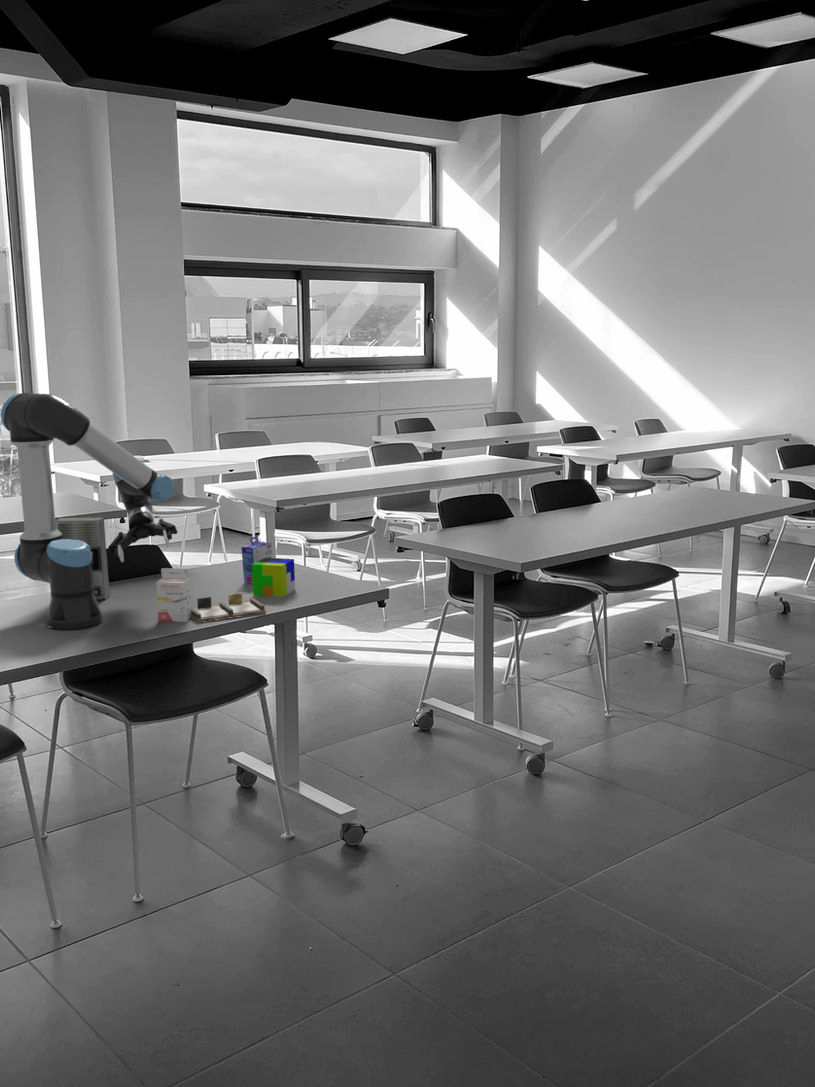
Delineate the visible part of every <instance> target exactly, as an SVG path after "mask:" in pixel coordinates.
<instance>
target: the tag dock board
mask: <svg viewBox="0 0 815 1087" xmlns="http://www.w3.org/2000/svg"><path fill="white" fill-rule="evenodd" d="M227 595H228V602H219V603H216V604H212V597H211V596H206V597H205V596H204V597H198V598H196V601H197V602H196V603H197V604H196V605H197V606H194V607H193V606H191V618H192V617H193V618H192V619H193V620H195V621H196V620H197V621H198V622H203V621H209V620H215V619H221V618H227V617H228V618H229V617H237V616H245V617H248V616H247V615H253V616H259V615H258V614H260V615H266V614H267V611H266V610H267V609H266V608H265V604H263V603H262V602H260V601H259V600H257V599H256V598H254V597H251V598H249V599H246V600H243V593H242V592H237V593H231V594H230V593H229V594H227ZM197 621H196V622H197ZM198 622H197V623H198ZM203 623H204V622H203Z"/></svg>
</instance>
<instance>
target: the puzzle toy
mask: <svg viewBox="0 0 815 1087" xmlns="http://www.w3.org/2000/svg"><path fill="white" fill-rule="evenodd" d="M252 575H253V584H252V594H253V596H254V595H259V596H258V597H272V596H278V597H277V598H284V597H285V595H286V594H287V595H289V594H290V593H292V592H293V591H292V590H294V589H295V590H296V581H295V580H296V579H295V578H296V577H295V558H279V557H275V558H274V557H273V558H263V559H261V560H259V561H258V562H256V563H254V564H252ZM295 590H294V591H295ZM291 591H292V592H291ZM289 592H290V593H289ZM288 593H289V594H288ZM287 595H286V596H287ZM279 596H280V597H279Z"/></svg>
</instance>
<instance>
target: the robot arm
mask: <svg viewBox="0 0 815 1087" xmlns="http://www.w3.org/2000/svg"><path fill="white" fill-rule="evenodd" d="M0 410H1V411H0V420H1V424H2V426H3V427H4V428H5V430H7V431H8V432H9V438H10V443H11V444H12V445H13V446H15V448H16V449H17V460H18V463H17V464H18V470H19V482H20V495H21V503H22V515H23V524H24V525H23V527H24V531H23V532H22V533H21V534H20V535H19V544H18V545H17V546H18V547H17V548H16V549H15V551H14V555H13V557H14V563H15V567H16V569H17V570H18V572H19V573H20V574H22V575H23V576H24V577H26V578H29V579H30V580H33V581H38V582H43V583H48V584H50V586H49V587H50V598H51V599H50V601H49V602H50V603H49V606H48V611H47V615H46V626H47V625H48V626H50V627H52V628H56V629H55V630H59V629H72V630H77V629H76V628H81V629H85V628H84V627H87V628H89V627H88V626H91V627H94V626H97V625H100V624H101V623H102V622H103V612H102V610H101V608H100V605H99V603H98V601H97V600H98V599H96V598H95V596H94V588H93V573H92V555H91V551H90V547H89V545H88V544H87V543H85V542H83V541H80V540H71V539H62V533H61V532H60V531H59V530H57V529H56V523H55V521H56V514H55V504H54V491H53V490H54V489H53V479H52V470H51V469H52V468H51V459H50V445H51V444H52V443H53V442H54V441H55V439H57V440H59V441H61V442H62V443H64V444H65V445H66V446H69V447H72V446H75V447H76V448H77V449H79V450H80V451H82V452H83V453H84V454H85V455H87V456H89V457H90V458H91V459H93V460H94V461H96V462H97V463H99V464H100V465H102V466H103V467H104V468H106V469H107V470H109V471H110V472H112V477H113V479H114V484H115V486H116V488H117V490H118V493H119V495H120V497H121V499H122V502H123V506H124V508H125V510H126V513H127V518H128V520H127V521H128V530H127V532H125V533H124V532H123V531H120V532H118V535H117V536H116V537H115V538H114V539H113V540H112V542H111V543H110V544H109V545H108V546H107V548H108V552H109V553H110V555H111V556H113V555H115V557H116V558H117V557H118V558H119V560H120V563H124V562H125V557H124V550H125V549H127V548H128V547H129V546H130V545H132V544H135V543H136V542H138V541H139V540H142V539H144V540H145V539H147V538H149V537H156V536H157V537H158V536H159V537H163V540H164V542H165V544H166V547H167V548H170V547H171V546H170V540H172V539H173V535H177V534H178V530H177V527H176V525H175V524H173V523H170V522H167V521H165V520H164V519H163V518H159V520H158V521H157V522H156V523H155V518H154V514H153V512H154V511H153V504H152V503H151V500H155V501H160V500H161V501H166V500H168V499H170V498H171V497H172V495H173V493H174V491H175V484H174V480H173V479H172V478H171V477H170V476H168V475H165V474H159V473H158V472H157V471H155V470H153V469H152V468H151V467H150V466H148V465H146V463H144V462H142V461H141V460H140V459H138V458H137V457H136V456H134V455H133V454H131V453H130V452H129V451H128V450H126V449H125V448H124V447H122V446H121V445H119V444H118V443H117V442H116V441H115V440H113V439H112V438H110V437H109V436H107V435H106V434H105V433H103V432H102V431H101V430H99V429H98V428H97V427H95V426H94V425H93V424H91V420H90V418H89V417H88V416H87V415H86V414H84V413H82V412H81V411H80V410H78V409H77V408H76V407H74V405H72V404H70V403H69V402H68V401H66V400H64V399H62V398H61V397H58V396H56V395H54V394H49V393H34V392H21V393H16V394H13V395H10V396H9V397H8V398H7V399H6V401H5V402H4V403H3V404H2V407H1V409H0ZM100 622H101V623H100ZM96 624H97V625H96ZM93 625H94V626H93ZM48 626H47V627H48ZM52 628H51V629H52Z"/></svg>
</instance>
